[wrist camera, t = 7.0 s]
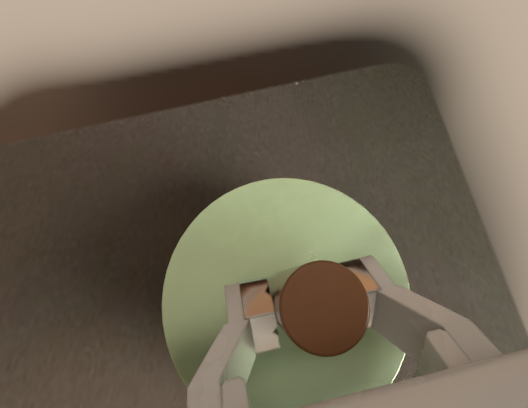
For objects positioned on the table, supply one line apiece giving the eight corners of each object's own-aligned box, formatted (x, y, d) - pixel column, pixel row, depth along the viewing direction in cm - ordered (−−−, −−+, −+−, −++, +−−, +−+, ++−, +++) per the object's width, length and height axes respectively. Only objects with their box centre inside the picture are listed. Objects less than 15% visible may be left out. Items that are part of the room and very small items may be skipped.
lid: (331, 152, 17) (396, 55, 10) (445, 352, 15) (635, 418, 8) (132, 239, 15) (31, 200, 8) (227, 484, 13) (205, 737, 6)
